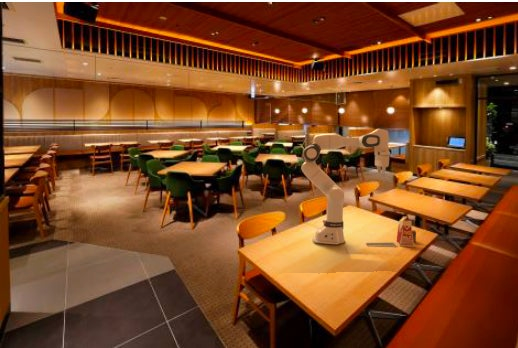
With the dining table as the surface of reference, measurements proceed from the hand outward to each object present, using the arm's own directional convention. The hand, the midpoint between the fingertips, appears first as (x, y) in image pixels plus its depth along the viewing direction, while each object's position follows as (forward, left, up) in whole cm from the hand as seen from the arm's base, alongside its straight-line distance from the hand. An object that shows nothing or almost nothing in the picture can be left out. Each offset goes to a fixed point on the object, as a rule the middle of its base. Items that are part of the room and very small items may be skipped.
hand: (381, 173), depth 194 cm
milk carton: (+16, 0, -49) cm, 52 cm away
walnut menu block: (+23, +6, -49) cm, 55 cm away
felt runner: (0, -2, -49) cm, 49 cm away
